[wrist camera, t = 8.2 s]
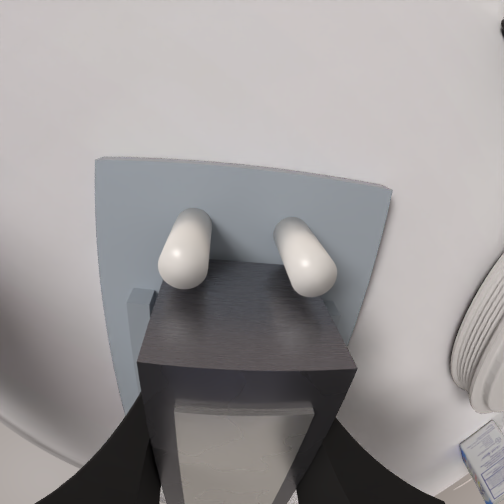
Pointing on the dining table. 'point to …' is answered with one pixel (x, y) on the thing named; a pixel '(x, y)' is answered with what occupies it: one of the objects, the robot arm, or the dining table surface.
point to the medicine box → (486, 461)
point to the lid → (483, 346)
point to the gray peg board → (226, 238)
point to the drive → (239, 384)
